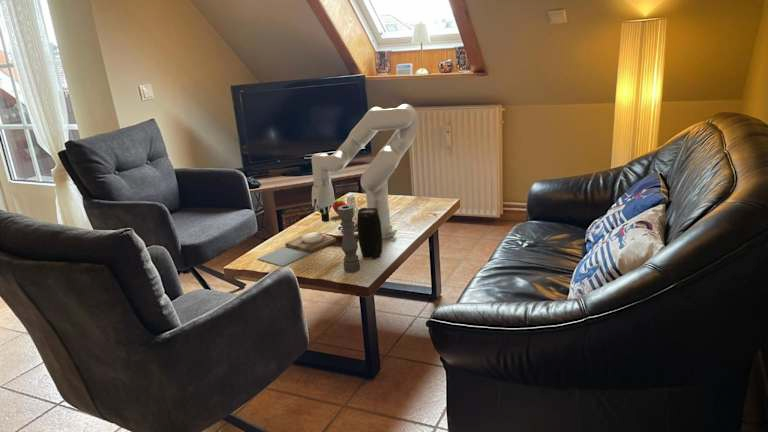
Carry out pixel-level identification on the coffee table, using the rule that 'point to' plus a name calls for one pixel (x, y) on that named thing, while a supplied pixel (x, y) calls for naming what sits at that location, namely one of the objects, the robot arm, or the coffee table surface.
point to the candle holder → (349, 239)
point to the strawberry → (338, 204)
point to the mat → (283, 256)
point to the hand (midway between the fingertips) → (325, 221)
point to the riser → (310, 244)
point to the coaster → (312, 237)
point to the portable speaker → (369, 233)
